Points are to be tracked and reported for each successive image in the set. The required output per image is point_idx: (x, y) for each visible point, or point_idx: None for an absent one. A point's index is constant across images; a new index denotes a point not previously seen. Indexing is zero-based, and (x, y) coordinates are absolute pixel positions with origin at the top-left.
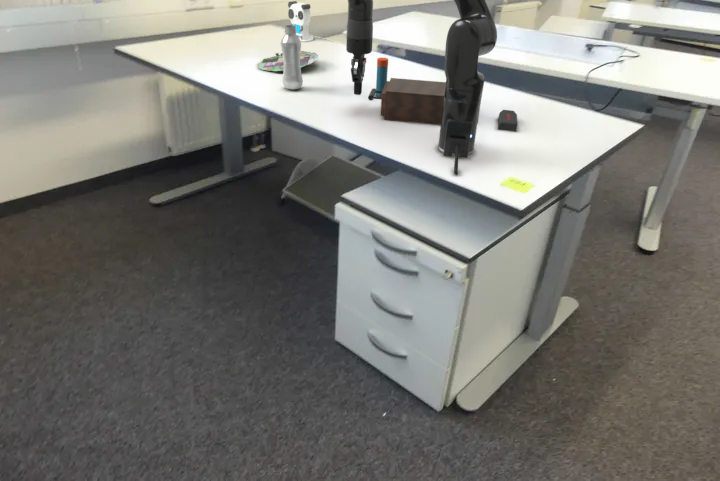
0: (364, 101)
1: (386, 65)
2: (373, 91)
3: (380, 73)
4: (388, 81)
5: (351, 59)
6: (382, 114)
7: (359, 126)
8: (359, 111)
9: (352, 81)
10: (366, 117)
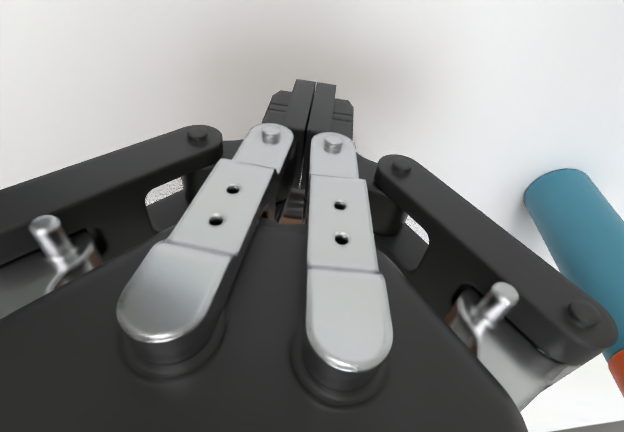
0: (472, 104)
1: (613, 377)
2: (296, 217)
3: (597, 298)
4: None
5: (126, 332)
6: None
7: (50, 80)
8: (281, 76)
9: (185, 127)
10: (195, 115)
